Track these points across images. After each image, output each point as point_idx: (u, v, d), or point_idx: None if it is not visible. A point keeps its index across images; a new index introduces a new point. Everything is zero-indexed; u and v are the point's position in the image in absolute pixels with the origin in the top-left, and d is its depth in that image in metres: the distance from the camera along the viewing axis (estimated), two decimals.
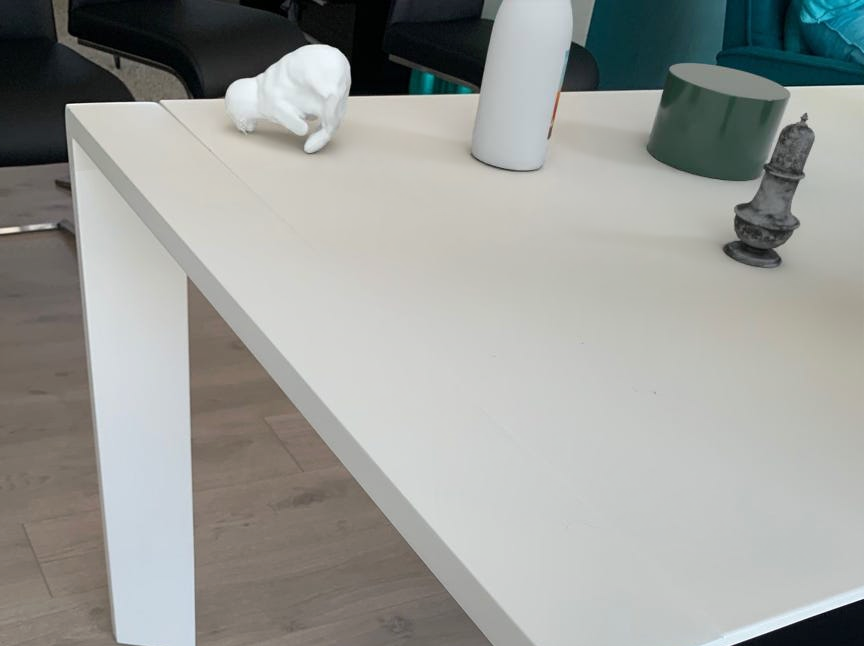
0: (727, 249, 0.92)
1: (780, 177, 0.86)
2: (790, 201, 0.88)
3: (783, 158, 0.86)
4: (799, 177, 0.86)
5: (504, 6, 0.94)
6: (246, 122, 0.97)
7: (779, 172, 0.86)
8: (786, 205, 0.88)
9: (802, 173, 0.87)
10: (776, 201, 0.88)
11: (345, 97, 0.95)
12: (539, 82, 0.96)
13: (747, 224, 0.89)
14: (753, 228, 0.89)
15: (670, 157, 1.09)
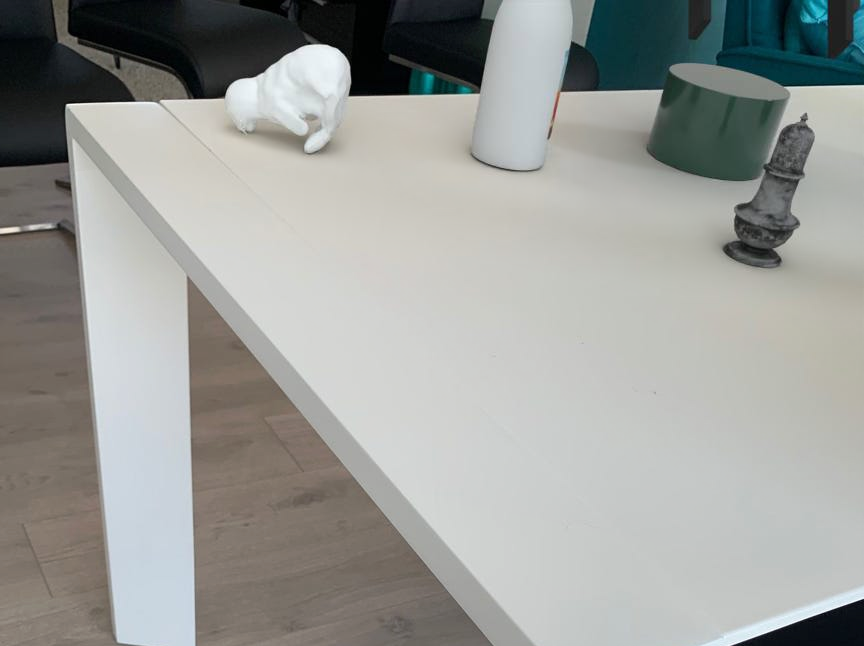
0: (727, 249, 0.92)
1: (780, 177, 0.86)
2: (790, 201, 0.88)
3: (783, 158, 0.86)
4: (799, 177, 0.86)
5: (504, 6, 0.94)
6: (246, 122, 0.97)
7: (779, 172, 0.86)
8: (786, 205, 0.88)
9: (802, 173, 0.87)
10: (776, 201, 0.88)
11: (345, 97, 0.95)
12: (539, 82, 0.96)
13: (747, 224, 0.89)
14: (753, 228, 0.89)
15: (670, 157, 1.09)
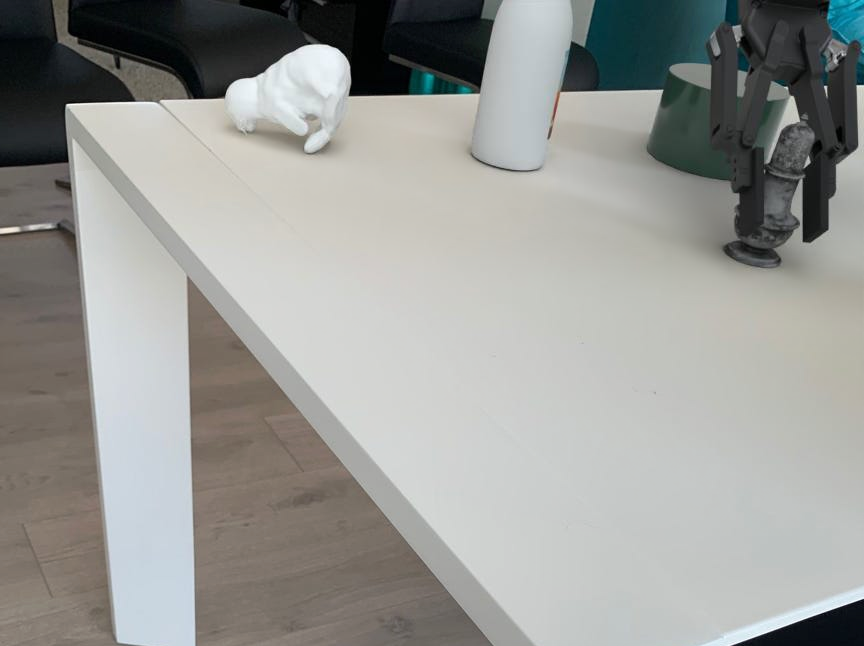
0: (727, 249, 0.92)
1: (780, 177, 0.86)
2: (790, 201, 0.88)
3: (783, 158, 0.86)
4: (799, 177, 0.86)
5: (504, 6, 0.94)
6: (246, 122, 0.97)
7: (779, 172, 0.86)
8: (786, 205, 0.88)
9: (802, 173, 0.87)
10: (776, 201, 0.88)
11: (345, 97, 0.95)
12: (539, 82, 0.96)
13: None
14: None
15: (670, 157, 1.09)
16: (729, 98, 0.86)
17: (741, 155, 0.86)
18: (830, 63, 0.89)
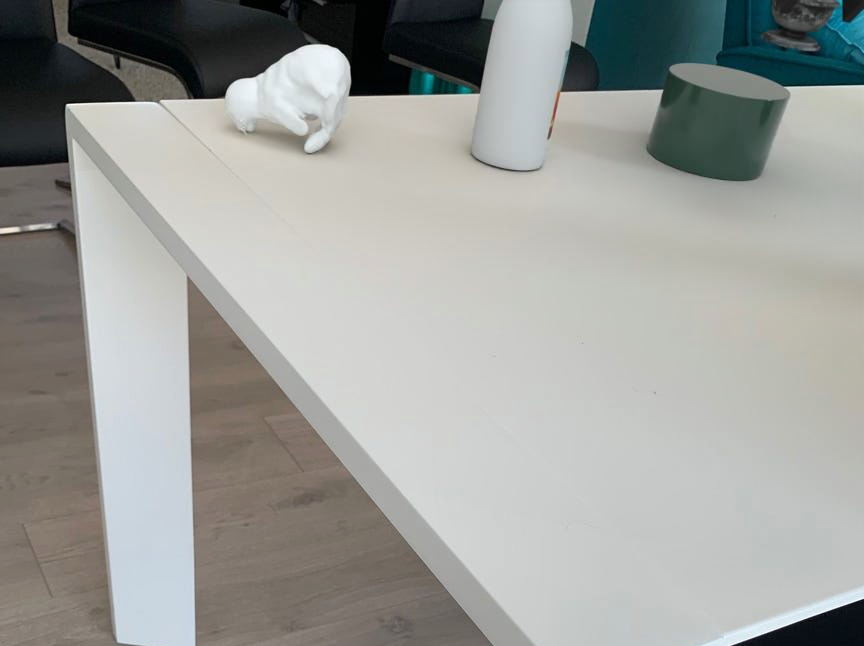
0: (765, 36, 0.91)
1: None
2: None
3: None
4: None
5: (504, 6, 0.94)
6: (246, 122, 0.97)
7: None
8: None
9: None
10: None
11: (345, 97, 0.95)
12: (539, 82, 0.96)
13: None
14: None
15: (670, 157, 1.09)
16: None
17: None
18: None
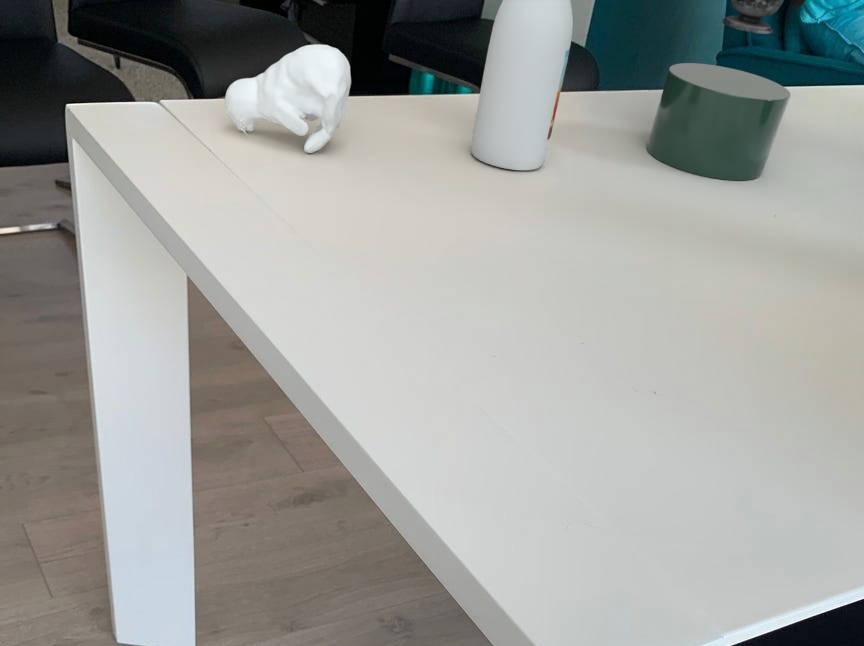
0: (725, 20, 1.04)
1: None
2: None
3: None
4: None
5: (504, 6, 0.94)
6: (246, 122, 0.97)
7: None
8: None
9: None
10: None
11: (345, 97, 0.95)
12: (539, 82, 0.96)
13: None
14: None
15: (670, 157, 1.09)
16: None
17: None
18: None
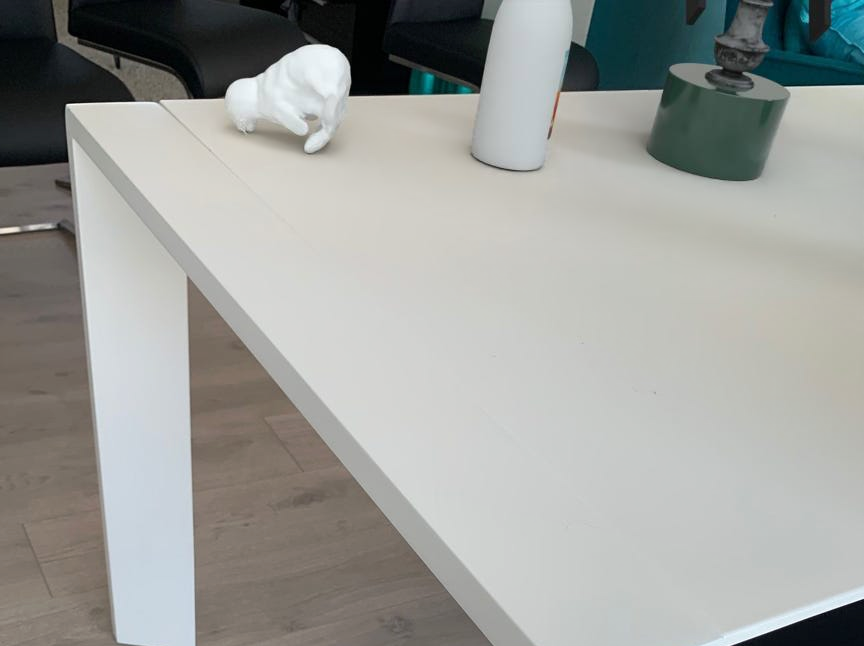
0: (708, 74, 1.08)
1: (752, 4, 1.02)
2: (761, 27, 1.04)
3: None
4: (768, 4, 1.02)
5: (504, 6, 0.94)
6: (246, 122, 0.97)
7: (751, 0, 1.02)
8: (757, 30, 1.04)
9: (770, 1, 1.03)
10: (749, 26, 1.04)
11: (345, 97, 0.95)
12: (539, 82, 0.96)
13: (724, 48, 1.05)
14: (730, 51, 1.05)
15: (670, 157, 1.09)
16: None
17: None
18: None
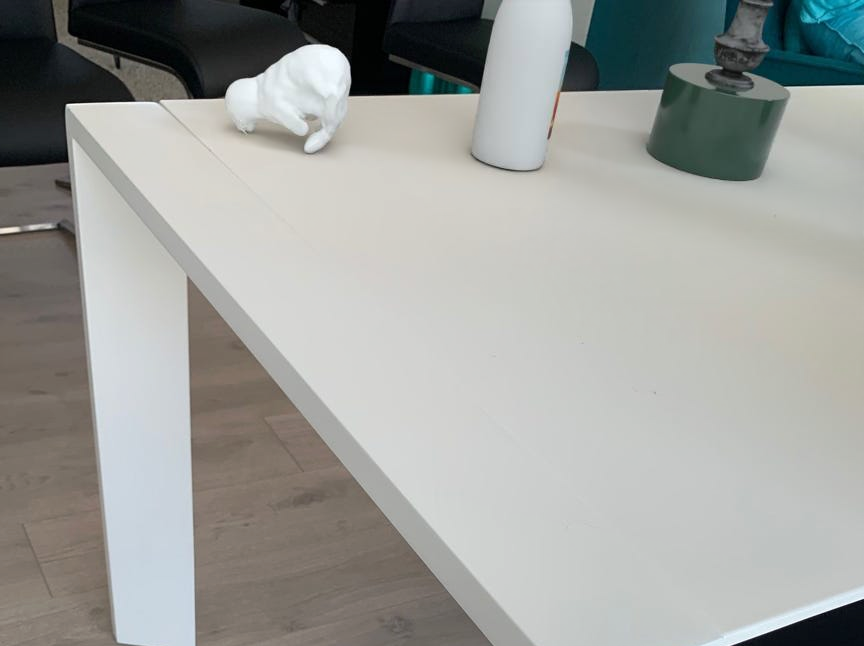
0: (708, 74, 1.08)
1: (752, 4, 1.02)
2: (761, 27, 1.04)
3: None
4: (768, 4, 1.02)
5: (504, 6, 0.94)
6: (246, 122, 0.97)
7: (751, 0, 1.02)
8: (757, 30, 1.04)
9: (770, 1, 1.03)
10: (749, 26, 1.04)
11: (345, 97, 0.95)
12: (539, 82, 0.96)
13: (724, 48, 1.05)
14: (730, 51, 1.05)
15: (670, 157, 1.09)
16: None
17: None
18: None
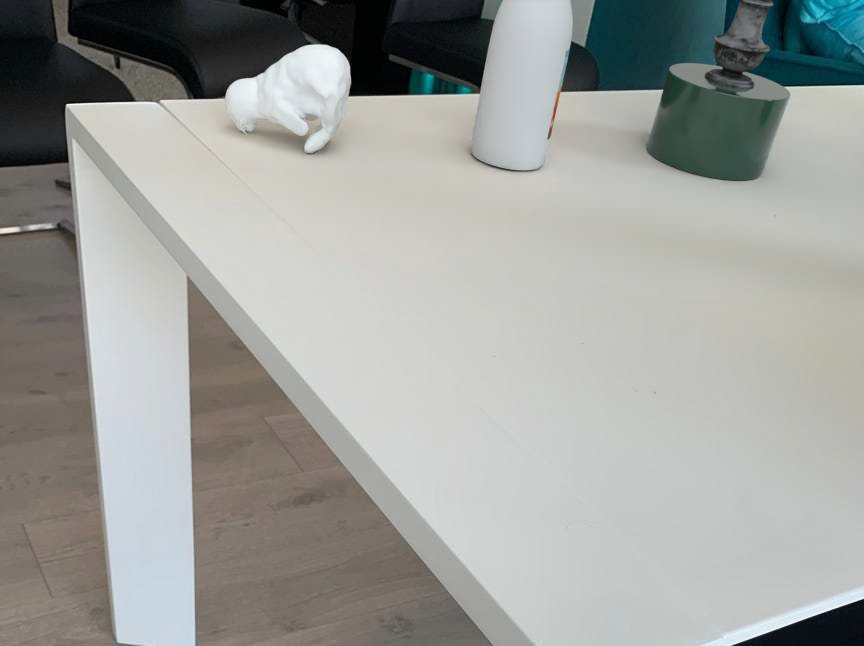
0: (708, 74, 1.08)
1: (752, 4, 1.02)
2: (761, 27, 1.04)
3: None
4: (768, 4, 1.02)
5: (504, 6, 0.94)
6: (246, 122, 0.97)
7: (751, 0, 1.02)
8: (757, 30, 1.04)
9: (770, 1, 1.03)
10: (749, 26, 1.04)
11: (345, 97, 0.95)
12: (539, 82, 0.96)
13: (724, 48, 1.05)
14: (730, 51, 1.05)
15: (670, 157, 1.09)
16: None
17: None
18: None
